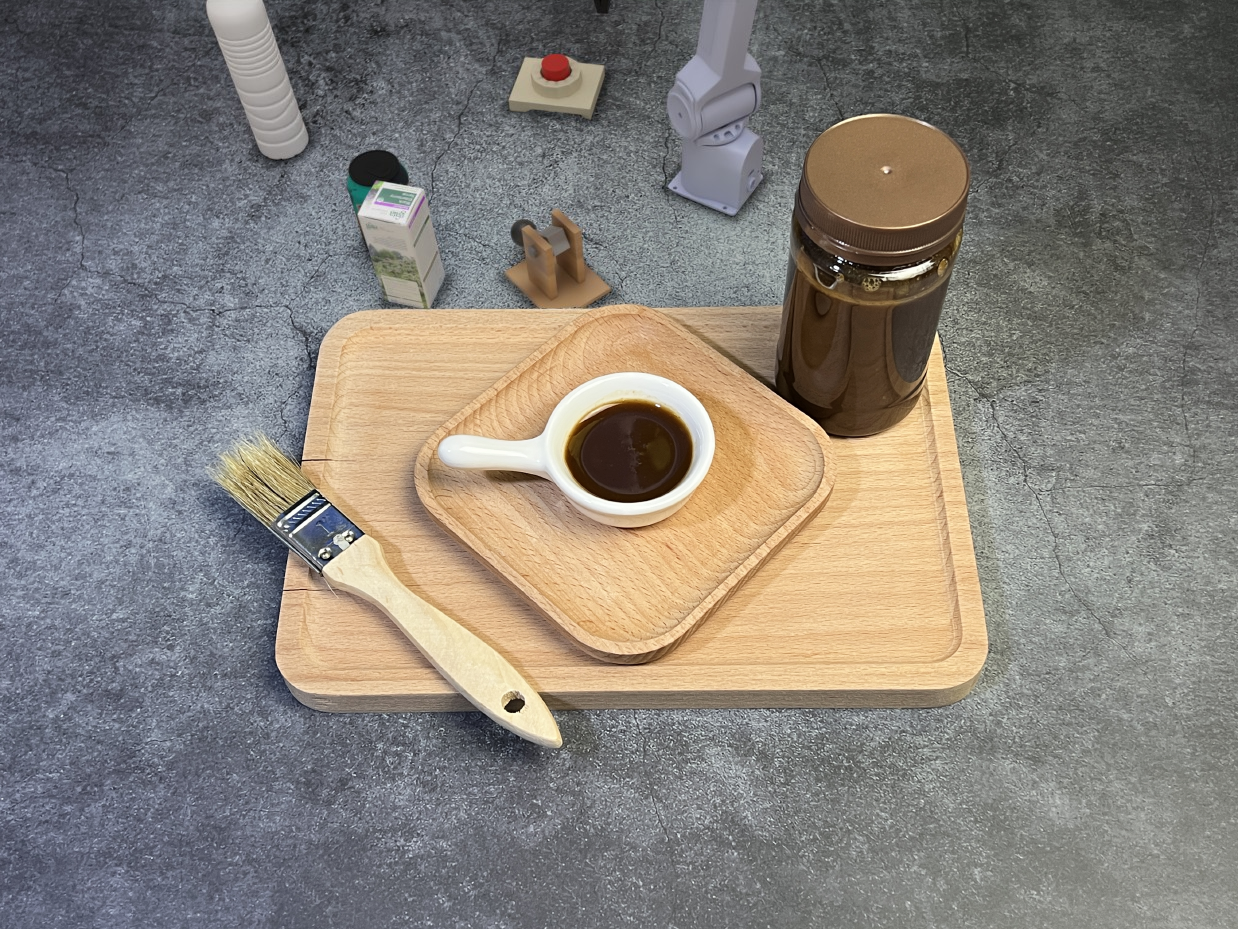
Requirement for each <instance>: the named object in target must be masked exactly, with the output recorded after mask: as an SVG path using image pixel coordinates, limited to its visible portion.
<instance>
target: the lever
mask: <svg viewBox="0 0 1238 929" xmlns="http://www.w3.org/2000/svg"><path fill="white" fill-rule="evenodd" d="M527 225H530V226H531V227H532V228H533V229H534V230H535V231H536V232H537V233H538V234H539V235H540V236H541V237H542V238H543V239H545V240H546V241H547V242H548V243H549V244H550V245H551V246H552V249H553V256H557V255H558V254H560V253H562V252H563V251H565V250H567V249H569V248H570V245H569V243H568V240H567V238H566V235H565V233H564V230H563V228H560V227H556V226H552V224H551V225H549V226H546V227H545V228H543V229H542V230H538V228H537V225H536V224H535V223H534V222H533V221H531V220H530V219H526V218H520V219H517V220H516V221H515V222H514V223H513V224H512V225H511V227H510V230H509V234H510V238H511V241H512V242H513V243H514V244H515V245H516V246H518V247H520V248H524V242H523V235H522V228H524V227H526V226H527Z"/></svg>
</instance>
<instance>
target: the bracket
mask: <svg viewBox="0 0 1238 929" xmlns="http://www.w3.org/2000/svg"><path fill="white" fill-rule="evenodd" d="M550 216H551V225H552V226H556V227H560V228H563V230H564V233H565V235H566V238H567V240H568V243H569V245H570V248H569V249H567V250H565V251H563V252H562V253H560V254H558V255H557V256H553V249H552V246H551V245H550V244H549V243H548V242H547V241H546V240H545V239H543V238H542V237H541V236H540V235H539V234H538V233H537V232H536V231H535V230H534V229H533V228H532V227H531V226H530V225H527V226H526V227H524V228H522V235H523V242H524V247H523V248H524V254H525V255H524V256H525V259H524V260H522V261H520V262H519V263H516V264H515V265H513V266H512V267H510V268H508V269H507V270H505V271H504V276H505V278H507V279H508V280H509V281H510V282H511V283H512V284H513V285H514V286H516V288H517V289H518V290H520V291H521V293H522V294H523V295H524V296H525V297H526V298H528V300H529V301H531V303H533V305H534V306H536V307H537V308H538V309H539V308H569V307H581V308H583V309H585V308H586V307H588V306H589V305H591V304H592V303H594V302H596V301H597V300H599V299H601V298H602V297H604V296H605V295H607V294H608V293H610V292H612V289H611V288H612V287H610V286H609V285H608V284H607V283H606V282H605V281H604V280H603V279H602V278H601V277H600V276H599V275H598V274H596V273H595V271H594V270H592V269H591V268H590V267H589V266H588V265H587V264H586V263H585V259H584V258H585V257H584V256H585V255H584V245H583V234H582V228H580V227H579V226H578V225H577V224H576V223H575V222H573V221H572V220H571V219H570V218H569V217H568V216H567V215H566V214H565V213H564V212H563V211H561V210H560V208H556V209H554V210H551V211H550Z"/></svg>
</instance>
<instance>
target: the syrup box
mask: <svg viewBox="0 0 1238 929" xmlns="http://www.w3.org/2000/svg"><path fill="white" fill-rule="evenodd" d="M357 215H358V218H359V222H360V225H361V228H362V231H363V234H364V237H365V240H366V243H367V246H368V249H369V252H370V253H369V252H368V253H369V255H370V259H371V261H372V265H373V268H374V272H375V274H376V278H377V280H378V283H379V285H380V289H381V293H382V296H383V299H384V301H386V302H390V303H394V304H400V305H404V306H409V307H414V308H418V309H423V308H431V307H432V305H433V303H434V301H435V299H436V296H437V294H438V293H439V290H440V288H441V286H442V284H443V282H444V281H445V278H446V273H445V269H444V266H443V262H442V259H441V254H440V250H439V246H438V241H437V238H436V234H435V233H436V232H435V230H434V224H433V221H432V217H431V216H432V215H431V211H430V207H429V204H428V199H427V195H426V192H425V189H424V188H421V187H415V186H411V187H410V186H405V185H399V184H394V183H388V182H383V181H378V180H377V181H376V182H375V183H374V185H373V187H372V188H371V190H370V191H369V193H368V195H367V196H366V198H365V200H364V202H363V204H362V206H361V208H360V211H359V212H358V214H357Z"/></svg>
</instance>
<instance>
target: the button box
mask: <svg viewBox="0 0 1238 929" xmlns="http://www.w3.org/2000/svg"><path fill="white" fill-rule="evenodd" d="M564 56H565V57H567V58H568V60H569V69H570V74H569V77H568V78H566V79H565V80H562V81H558V82H554V81H548V80H546V79H544V77H543V74H542V65H541V63H542V60H543V59H544V58H545V57H542V58H536V57H528V56H527V57H526V56H525V57H524V58H523V61H522V65H521V67H520V70H519V72H518V75H517V78H516V80H515V82H514V85H513V88H512V90H511V93H510V95H509V98H508V105H509V106H508V107H509V111H511V112H512V111H513V112H520V113H527V112H529V111H531V110H537V111H546V112H554V113H564V114H571V115H581V116H582V117H583V118H584V119H586V120H592V118H593V114H594V111H595V107H596V104H597V101H598V99H599V96H600V92H601V89H602V85H603V83H604V79H605V76H606V74H605V73H606V70H605V65H603V64H594V63H585V62H578V61H577V60H575V59H573V58H571V57H570V56H568V55H567V56H566V55H564Z"/></svg>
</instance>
